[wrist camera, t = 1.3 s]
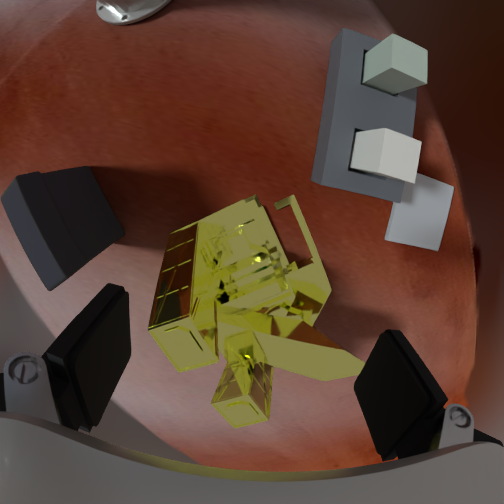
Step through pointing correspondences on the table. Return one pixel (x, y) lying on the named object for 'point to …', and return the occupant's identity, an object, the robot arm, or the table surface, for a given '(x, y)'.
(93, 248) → the black block
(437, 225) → the mat
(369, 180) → the plate
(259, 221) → the crystal
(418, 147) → the white plug
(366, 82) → the sage plug
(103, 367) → the robot arm
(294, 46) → the table surface
